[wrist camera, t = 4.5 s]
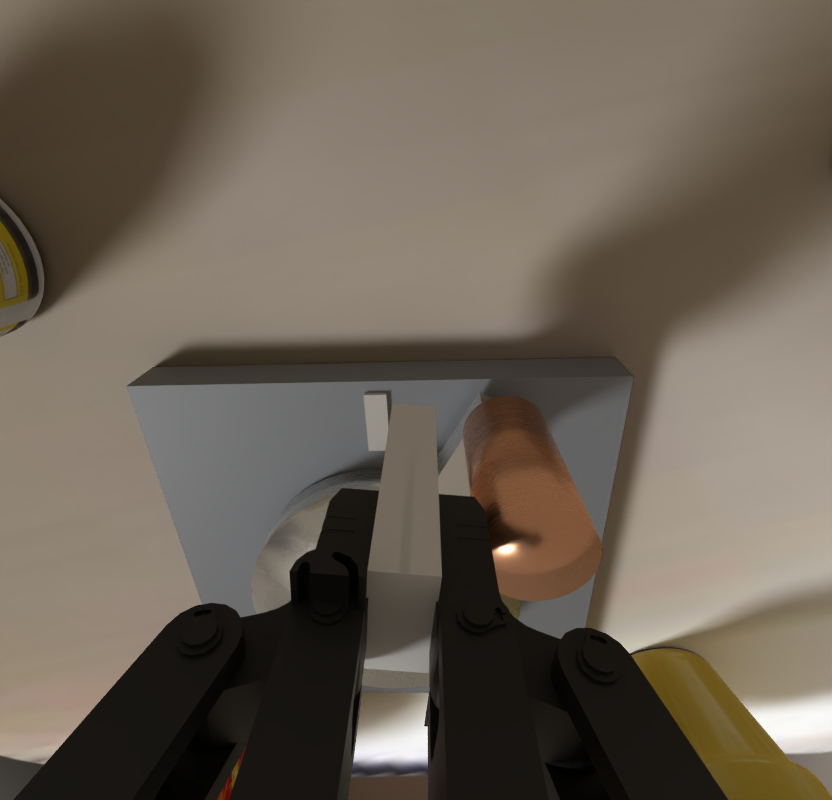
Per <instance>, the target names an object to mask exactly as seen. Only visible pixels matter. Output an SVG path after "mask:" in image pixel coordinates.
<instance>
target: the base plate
mask: <svg viewBox="0 0 832 800" xmlns="http://www.w3.org/2000/svg"><path fill="white" fill-rule="evenodd" d="M633 378H634V376H633V375H632V374H631V373H630V372H629V371H628V370H627V369H626V368H625V367H624V366H623V365H622V363H621V362H620V361H619V360H618V359H617V358H616V357H597V358H551V359H505V360H459V361H412V362H366V363H320V364H274V365H228V366H181V367H153V368H151V369H150V370H148V371H147V372H146V373H144V374H143V375H141V376H140V377H139V378H137V379H136V380H134V381H133V382H132V383H130V384H129V385H127V386H126V387H127V390H128V392H129V395H130V398H131V401H132V404H133V407H134V410H135V413H136V415H137V418H138V421H139V424H140V427H141V430H142V433H143V435H144V438H145V441H146V444H147V447H148V450H149V453H150V456H151V458H152V461H153V464H154V467H155V470H156V473H157V476H158V479H159V481H160V484H161V487H162V490H163V493H164V496H165V499H166V502H167V504H168V507H169V510H170V513H171V516H172V519H173V522H174V525H175V527H176V530H177V533H178V536H179V539H180V542H181V545H182V548H183V550H184V553H185V556H186V559H187V562H188V565H189V568H190V571H191V573H192V576H193V579H194V582H195V585H196V588H197V591H198V593H199V596H200V599H201V602H202V605H203V604H208V603H218V604H226V605H228V606H229V607H231V608H233V609H235V610H236V611H237V612H238V614H239V616H240V617H245V616H250V615H255V614H256V611H255V609H254V605H253V600H252V595H251V581H252V575H253V570H254V567H255V564H256V562H257V559H258V557H259V554H260V552H261V550H262V548H263V545H264V543H265V541H266V539H267V536H268V534H269V532H270V530H271V527H272V525H273V523H274V522H275V520H276V518H277V517H278V515H279V514H280V512H281V511H282V510H283V509H284V508H285V506H286V505H287V504H288V503H289V502H290V501H291V500H293V499H294V498H295V497H296V496H297V495H298V494H300V493H301V492H303V491H304V490H306V489H308V488H309V487H311V486H312V485H314V484H317V483H319V482H321V481H323V480H325V479H328V478H331V477H334V476H337V475H340V474H343V473H348V472H353V471H358V470H368V469H383V462H384V456H385V449H386V442H387V436H388V429H389V422H390V416H391V409H392V404H403V405H416V406H428V407H435V413H436V438H437V456H438V455H439V453H440V452H441V450H442V448H443V447H444V445H445V444H446V442H447V441H448V439H449V437H450V436H451V434H452V433H453V431H454V430H455V428H456V426H457V425H458V423H459V422H460V420H461V419H462V417H463V415H464V414H465V412H466V411H467V409H468V408H469V406H470V405H471V403H472V401H473V400H474V398H475V397H476V395H477V394H478V392H479V391H480V392H482V393H484V394H486V395H488V396H490V397H492V398H494V397H499V396H516V397H520V398H523V399H526V400H528V401H530V402H531V403H533V404H534V405H535V406H536V407H537V408H538V409H539V410H540V411H541V413H542V414H543V416H544V418H545V420H546V423H547V425H548V427H549V429H550V431H551V433H552V436H553V438H554V440H555V442H556V444H557V447H558V449H559V451H560V453H561V455H562V457H563V460H564V462H565V464H566V466H567V468H568V470H569V473H570V475H571V477H572V479H573V481H574V484H575V486H576V488H577V490H578V492H579V494H580V497H581V499H582V501H583V503H584V505H585V507H586V510H587V512H588V514H589V516H590V518H591V521H592V523H593V525H594V527H595V529H596V531H597V534H598V536H599V538H600V540H601V544H602V539H603V534H604V528H605V523H606V518H607V513H608V508H609V503H610V497H611V492H612V487H613V482H614V477H615V471H616V466H617V461H618V456H619V451H620V446H621V440H622V435H623V430H624V425H625V420H626V415H627V409H628V404H629V399H630V394H631V389H632V384H633ZM595 575H596V573H595V574H594V576H593V577H592V578H591V579H590V580H589V581H588V582H587V583H586V584H585V585H583V586H582V587H581V588H579V589H577V590H576V591H574V592H572V593H570V594H568V595H565V596H562V597H559V598H556V599H552V600H545V601H524V600H521V609H520V615H519V619H518V620H519V621H520V622H522V623H523V624H524V625H526V626H528V627H531V628H533V629H535V630H537V631H540V632H543V633H545V634H548V635H551V636H553V637H556V638H559V639H561V638H562V637H563V635H564V634H565V633H566V632H568V631H571V630H573V629H575V628H585V627H586V622H587V616H588V611H589V606H590V601H591V596H592V590H593V585H594V580H595ZM429 691H430V687H429V685H426V686H419V687H411V688H379V687H370V686H363V685H362V692H429Z"/></svg>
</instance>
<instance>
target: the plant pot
mask: <svg viewBox="0 0 832 800" xmlns="http://www.w3.org/2000/svg"><path fill="white" fill-rule="evenodd" d="M631 656H632V657H633V659H634V660H635V662H636V663H637V665H638V666H639V668H640V669H641V671H642V672H643V674H644V675H645V677H646V678H647V680H648V681H649V683H650V684H651V686H652V687H653V688H654V690H655V691H656V693H657V694H658V696H659V697H660V699H661V700H662V702H663V703H664V705H665V706H666V708H667V709H668V711H669V712H670V714H671V715H672V717H673V718H674V720H675V721H676V723H677V724H678V726H679V727H680V729H681V730H682V732H683V733H684V735H685V736H686V737H687V739H688V740H689V742H690V743H691V745H692V746H693V748H694V749H695V751H696V752H697V754H698V755H699V757H700V758H701V760H702V761H703V763H704V764H705V766H706V767H707V769H708V770H709V772H710V773H711V775H712V776H713V778H714V779H715V781H716V782H717V783H718V785H719V786H720V788H721V789H722V791H723V792H724V794H725V795H726V797H727V798H728V800H832V797H831V795H830V794H829V792H828V791H827V789H826V788H825V787H824V786H823V784H822V782H821V781H820V780H819V779H818V778H817V777H816V776H815V775H814V774H813V773H811V772H810V771H809V770H808V769H806V768H804V767H802V766H800V765H798V764H796V763H794V762H791V761H790V760H789V758H788V757H787V756H786V755H785V754H784V752H783V751H782V750H781V749H780V748H779V747H778V745H777V744H776V743H775V742H774V741H773V739H772V738H771V737H770V736H769V735H768V734H767V732H766V731H765V730H764V729H763V728H762V726H761V725H760V724H759V723H758V722H757V721H756V719H755V718H754V717H753V716H752V715H751V713H750V712H749V711H748V710H747V709H746V708H745V706H744V705H743V704H742V703H741V702H740V701H739V699H738V698H737V697H736V696H735V695H734V693H733V692H732V691H731V690H730V689H729V687H728V686H727V685H726V684H725V683H724V681H723V680H722V679H721V678H720V677H719V675H718V674H717V673H716V672H715V671H714V670H713V668H712V667H711V666H710V665H709V664H708V663H707V662H706V661H705V660H704V659H703V658H701V657H700V656H698V655H696V654H694V653H691V652H689V651H685V650H682V649H675V648H660V649H652V650H646V651H642V652H639V653H636V654H633V655H631Z"/></svg>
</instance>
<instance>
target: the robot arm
mask: <svg viewBox="0 0 832 800" xmlns="http://www.w3.org/2000/svg"><path fill="white" fill-rule="evenodd" d="M289 574H290V590H291V601H289V602H288V603H287V604H285V605H283V606H281V607H279V608H277V609H274V610H271V611H268V612H264V613H259V614H255V615H250V616H245V617H240V616H239V614H238V612H237V611H236V610H235V609H233V608H231V607H229V606H228V605H226V604H218V603H208V604H203V605H198V606H194V607H192V608H190V609H188V610H186V611H184V612H182V613H180V614H179V615H178V616H177V617H175V618H174V619H173V620H172V621H171V622H170V623H169V624H167V625H166V626H165V628H164V629H163V630H162V631H161V632H160V633H159V634H158V636H157V637H156V638H155V639H154V640H153V641H152V642H151V644H150V645H149V646H148V647H147V648H146V649H145V650H144V652H143V653H142V654H141V655H140V656H139V657H138V658H137V660H136V661H135V662H134V663H133V664H132V665H131V666H130V668H129V669H128V670H127V671H126V672H125V673H124V674H123V676H122V677H121V678H120V679H119V680H118V681H117V682H116V684H115V685H114V686H113V687H112V688H111V689H110V690H109V691H108V693H107V694H106V695H105V696H104V697H103V698H102V699H101V701H100V702H99V703H98V704H97V705H96V706H95V707H94V709H93V710H92V711H91V712H90V713H89V714H88V715H87V717H86V718H85V719H84V720H83V721H82V722H81V723H80V725H79V726H78V727H77V728H76V729H75V730H74V731H73V733H72V734H71V735H70V736H69V737H68V738H67V739H66V741H65V742H64V743H63V744H62V745H61V746H60V747H59V749H58V750H57V751H56V752H55V753H54V754H53V755H52V757H51V758H50V759H49V760H48V761H47V762H46V763H45V765H44V766H43V767H42V768H41V769H40V770H39V771H38V772H37V774H36V775H35V776H34V777H33V778H32V779H31V781H30V782H29V783H28V784H27V785H26V786H25V787H24V788H23V790H22V791H21V792H20V793H19V794H18V795H17V796H16V798H15V799H14V800H217V798H218V797H219V795H220V793H221V791H222V789H223V787H224V786H225V784H226V782H227V780H228V778H229V776H230V775H231V773H232V771H233V769H234V767H235V765H236V764H237V762H238V760H239V758H240V756H241V755H242V753H243V751H244V749H245V747H246V749H245V752H244V755H243V758H242V761H241V764H240V767H239V770H238V774H237V777H236V780H235V783H234V786H233V789H232V792H231V796H230V799H229V800H348V797H349V789H350V781H351V774H352V766H353V758H354V751H355V743H356V735H357V728H358V720H359V712H360V704H361V692H362V678H363V670H364V669H379V670H391V671H403V672H418V673H428V672H429V687H430V691H429V698H428V704H427V711H426V718H425V725H424V726H428V800H728V798H727V797H726V795H725V794H724V792H723V791H722V789H721V788H720V786H719V785H718V783H717V782H716V781H715V779H714V778H713V776H712V775H711V773H710V772H709V770H708V769H707V767H706V766H705V764H704V763H703V761H702V760H701V758H700V757H699V755H698V754H697V752H696V751H695V749H694V748H693V746H692V745H691V743H690V742H689V740H688V739H687V737H686V736H685V735H684V733H683V732H682V730H681V729H680V727H679V726H678V724H677V723H676V721H675V720H674V718H673V717H672V715H671V714H670V712H669V711H668V709H667V708H666V706H665V705H664V703H663V702H662V700H661V699H660V697H659V696H658V694H657V693H656V691H655V690H654V688H653V687H652V686H651V684H650V683H649V681H648V680H647V678H646V677H645V675H644V674H643V672H642V671H641V669H640V668H639V666H638V665H637V663H636V662H635V660H634V659H633V657H632V656H631V655H630V654H629V653H628V651H627V650H626V649H625V648H624V647H623V646H622V645H621V644H620V643H619V642H618V641H616V640H615V639H613V638H612V637H610V636H609V635H607V634H606V633H603V632H600V631H597V630H594V629H592V628H575V629H573V630H571V631H568V632H566V633H565V634H564V635H563V637H562V638H561V639H559V638H556V637H553V636H551V635H548V634H545V633H543V632H540V631H537V630H535V629H533V628H531V627H528V626H526V625H524V624H523V623H522V622H520V621H519V620H517V619H516V618H515V617H514V616H513V615H512V614H511V613H510V611H509V609H508V607H507V606H506V605H505V604H504V603H503V602H502V599H501V596H500V593H499V588H498V582H497V576H496V571H495V565H494V559H493V553H492V548H491V543H490V536H489V530H488V525H487V519H486V513H485V510H484V509H483V507H482V506H481V505H480V503H479V502H478V501H477V499H476V498H475V497H472V496H459V495H445V494H439V489H438V463H437V438H436V413H435V407H428V406H416V405H403V404H392V409H391V416H390V422H389V429H388V436H387V442H386V449H385V456H384V462H383V469H382V476H381V482H380V489H379V491H376V490H363V489H350V488H341V489H340V491H339V492H338V493H337V494H336V495H335V496H334V497H333V498H332V499H331V500H330V502H329V505H328V509H327V512H326V515H325V519H324V522H323V525H322V530H321V532H320V536H319V539H318V542H317V546H316V549H314V550H311V551H308V552H306V553H305V554H304V555H302V556H301V557H300V558H299V559H297V560H296V561H295V563H294V565H293V566H292V568H291V569H290V571H289Z"/></svg>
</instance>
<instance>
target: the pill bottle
mask: <svg viewBox="0 0 832 800" xmlns="http://www.w3.org/2000/svg"><path fill="white" fill-rule="evenodd" d="M43 293H44V271H43V266H42V261H41V258H40V255H39V252H38V249H37V247H36V245H35V243H34V241H33V239H32V237H31V235H30V234H29V232H28V230H27V229H26V227H25V226H24V225H23V223H22V222H21V220H20V219H19V218H18V217H17V215H16V214H15V213H14V212H13V211H12V210H11V209H10V208H9V207H8V206H7V205H6V204H5V203H4V202H3V201H2V200H1V199H0V336H3V335H5V334H7V333H10V332H12V331H14V330H16V329H18V328H20V327H21V326H23V325H24V324H25V323H27V322H28V321H29V320H30V319H31V318H32V317H33V316H34V314H35V313H36V311H37V310H38V308H39V306H40V303H41V301H42V297H43Z"/></svg>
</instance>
